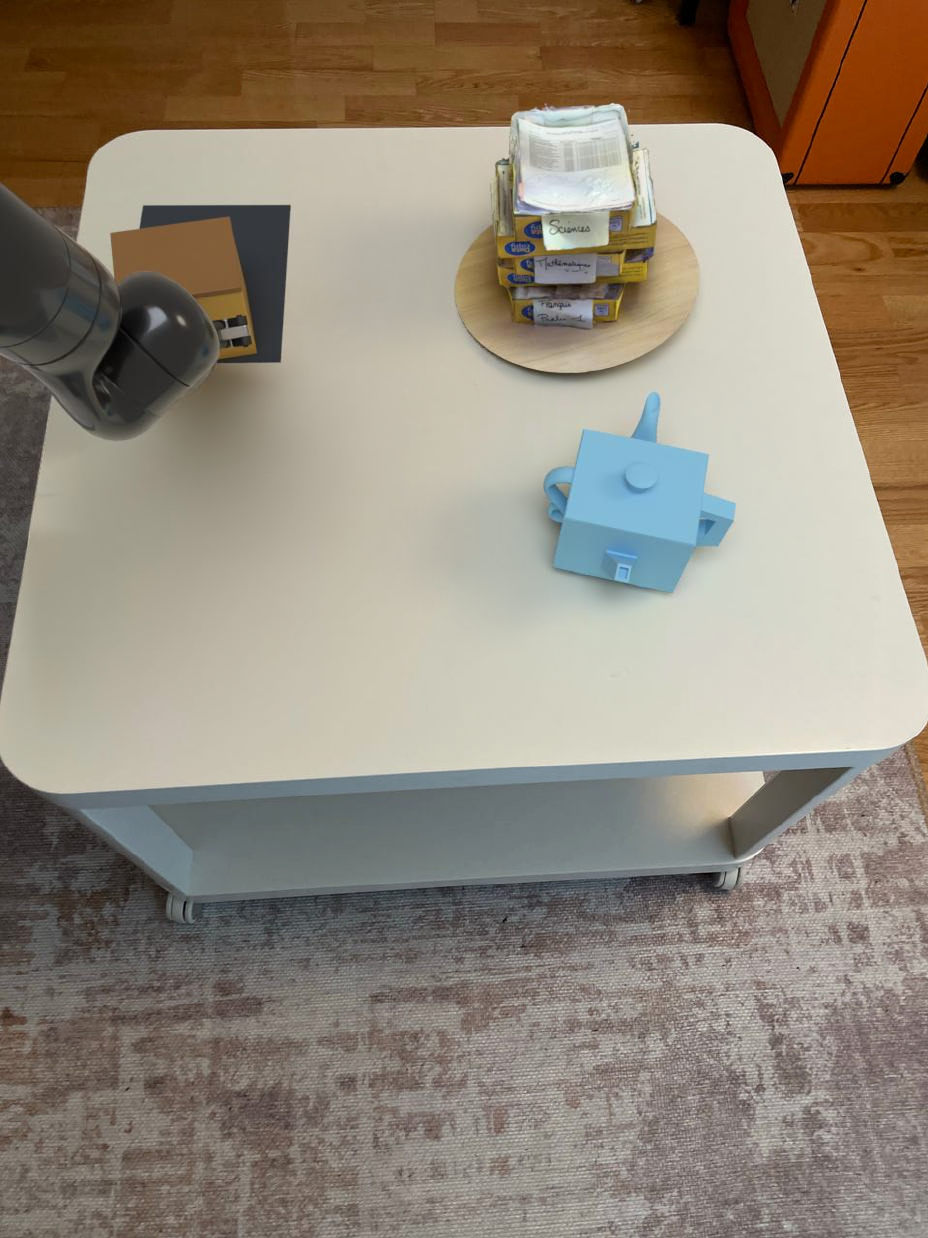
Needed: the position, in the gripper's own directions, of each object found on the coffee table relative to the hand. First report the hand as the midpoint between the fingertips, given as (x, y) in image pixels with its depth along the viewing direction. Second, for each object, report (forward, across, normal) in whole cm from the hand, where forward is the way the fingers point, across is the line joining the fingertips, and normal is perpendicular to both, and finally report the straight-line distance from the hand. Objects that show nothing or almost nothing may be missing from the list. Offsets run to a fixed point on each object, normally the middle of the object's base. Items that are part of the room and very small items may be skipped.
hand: (188, 337), depth 89 cm
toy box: (+6, 0, -1) cm, 7 cm away
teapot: (-16, -35, +23) cm, 45 cm away
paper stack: (+5, -39, +2) cm, 40 cm away
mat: (+11, -2, -5) cm, 12 cm away
